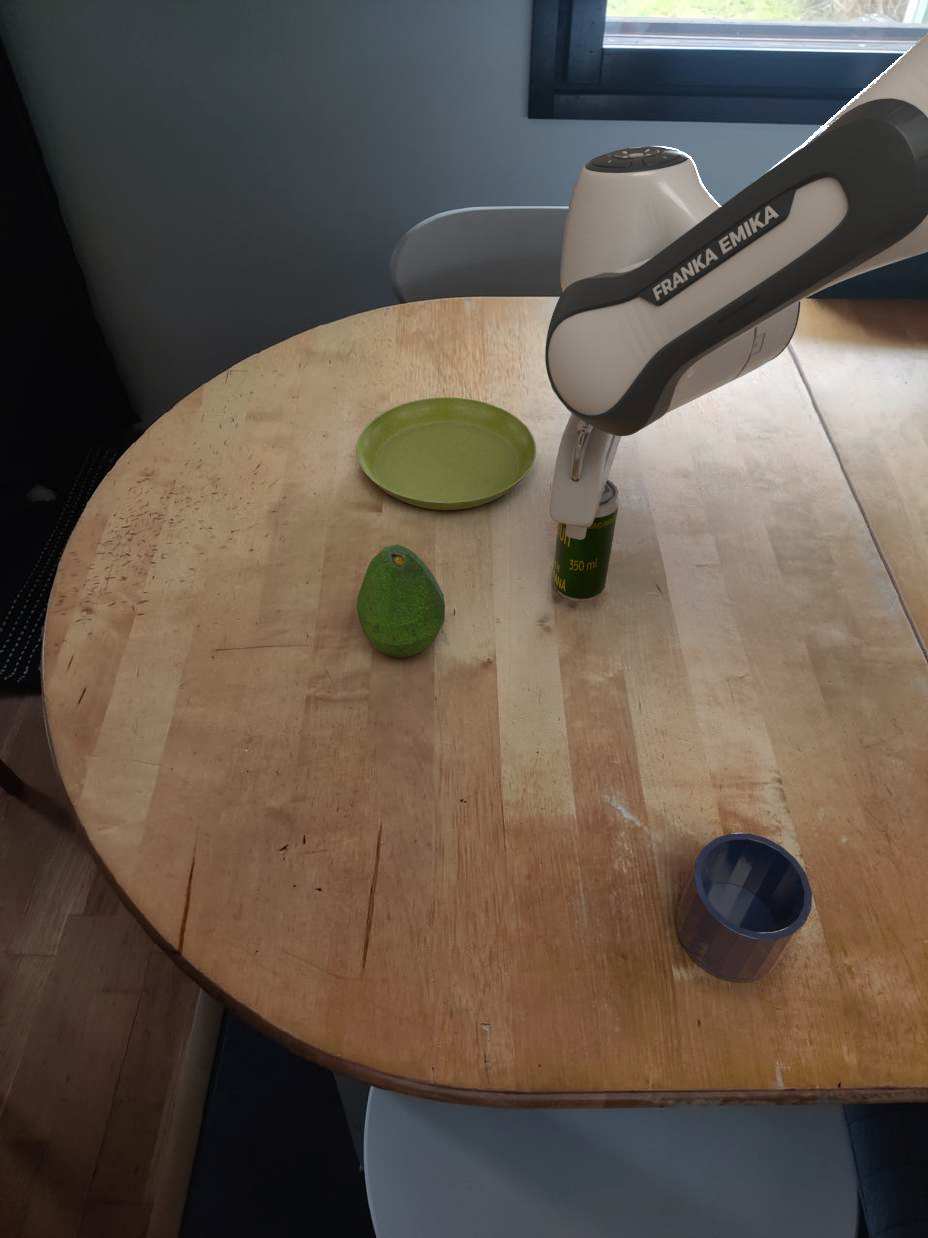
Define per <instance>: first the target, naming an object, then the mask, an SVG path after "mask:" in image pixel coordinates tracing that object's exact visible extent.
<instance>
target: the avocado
mask: <svg viewBox="0 0 928 1238" xmlns="http://www.w3.org/2000/svg"><path fill="white" fill-rule="evenodd" d="M356 611H357V617H358V622H359V625H360V627H361V629H362V632H363V633H364V635H365V636H366V638H367V641H369V643H370V644H371V646H373V647H374V649H376V650H378V651H379V652H381V653H382V654H384V655H386V656H389V657H394V658H398V659H400V658H408V657H412V656H415V655H417V654H420V653H421V652H423V651H425V650H426V649H428V648H429V647H430V646H431V645H432V644H433V643H434V641H436V638H437V637H438V635H439V633H440V631H441V629H442V627H443V625H444V623H445V621H446V620H445V617H446V603H445V595H444V593H443V590H442V589H441V587H440V584H439V582H438V581H437V578H436V577H435V575H434V574H433V572H432V570H431V569H430V568H429V566H427V565H426V563H425V562H424V561H423V560H422V559H421V558H420V557H419V556H418V555H417V553H415V552H413V550H411V549H410V548H408V547H406V546H402V545H400V544H394V545H392V544H391V545H389V546H384V547H383V548H382V549H381V550H380V551H379V552H377V554H375V556H374V557H373V558H372V559H371V561H369V564H368V566H367V569H366V571H365V574H364V577H363V580H362V583H361V586H360V588H359V591H358V595H357V600H356Z"/></svg>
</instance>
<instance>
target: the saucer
mask: <svg viewBox="0 0 928 1238" xmlns="http://www.w3.org/2000/svg"><path fill="white" fill-rule="evenodd" d="M355 452H356V458H357V459H356V460H357V461H358V465H359V466H360V468H361V470H362V471H363V472H364V473H365V475H366V477H368V478H369V479H370V481H371V482H372V483H373V484H375V485H376V486H377V487H378V488H379V489H380V490H382V491H384V492H385V493H387V494H388V495H389V496H391V497H393V498H395V499H397V500H399V501H401V502H403V503H407V504H409V505H412V506H415V507H419V508H423V509H428V510H429V509H430V510H436V511H437V510H438V511H456V510H464V509H465V510H466V509H470V508H476V507H478V506H482V505H485V504H487V503H491V502H492V501H494V500H496V499H499V498H500V497H502V496H504V495H505V494H507V493H509V492H510V491H511V490H512V489H514V488H515V487H516V486H518V484H519V483H520V482H521V481H522V480H523V479H524V478H525V477H526V476H527V475H528V473H530V471H531V469H532V467H533V466H534V463H535V460H536V458H537V445H536V441H535V437H534V435H533V434H532V432H531V430H530V428H529V427H528V426H527V425H526V424H525V423H524V422H523V421H522V420H521V419H519V418H518V417H517V416H516V415H514V414H513V413H511V412H510V411H508V410H506V409H504V408H501V407H499V406H496V405H494V404H490V403H488V402H484V401H482V400H481V401H480V400H476V399H471V398H463V397H450V396H449V397H447V396H446V397H443V396H442V397H441V396H440V397H430V398H421V399H416V400H412V401H407V402H404V403H401V404H398V405H396V406H393V407H391V408H389V409H387V410H385V411H383V412H381V413H380V414H379V415H377V416H376V417H374V418H373V419H371V421H370V422H369V423H367V424H366V425H365V427H364V428H363V429H362V431H361V432H360V434H359V435H358V439H357V442H356V447H355Z"/></svg>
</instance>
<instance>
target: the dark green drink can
mask: <svg viewBox="0 0 928 1238" xmlns="http://www.w3.org/2000/svg"><path fill="white" fill-rule="evenodd" d="M619 505H620V499H619V489H618V487H617V486H616V484H615V483H614V482H613V481H611V480H609V479H607V482H606V485H605V488H604V491H603V494H602V497H601V500H600V504H599V507H598V510H597V513H596V516H595V519H594V521H593V524H592V525H591V526H590V527H588V529H587V533H586V536H585V538H584V539H582V540H579V539H574V538H570V537H568V536H566V534H565V530H566V524H563V523H559V522H557V530H556V540H555V548H554V549H555V550H554V557H553V568H552V578H551V579H552V584H553V587H554V589H555V590H556V592H557V593H558V595H560V596H561V597H562V598H563V599H565V600H568V601H570V602H574V603H575V602H576V603H587V602H589V601H593V600H595V599H596V598H598V597H599V595H600V594H601V593H602V592H603V591H604V589H605V588H606V584H607V577H608V570H609V565H610V559H611V553H612V546H613V542H614V535H615V531H616V530H615V529H616V523H617V517H618V510H619Z"/></svg>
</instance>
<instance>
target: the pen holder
mask: <svg viewBox="0 0 928 1238" xmlns="http://www.w3.org/2000/svg"><path fill="white" fill-rule="evenodd" d="M679 899H680V900H679V902H678V906H677V910H676V913H675V926H676V932H677V937H678V939H679V941H680V943H681V946H682V948H683V950H684V951H685V953H686V954H687V955H688V957H689V958H690V959H691V960H692V961H693V962H694V963H695V964H696V966H698V968H701V969H702V970H703V971H704V972H706V973H708V974H709V975H711V976H713V977H715V978H718V979H720V980H723V981H726V982H731V983H732V982H733V983H749V982H754V981H758V980H760V979H762V978H765V977H766V976H768V975H769V974H770V973H772V971H773V970H775V968H776V967H777V966H778V965H779V964H780V962H781V961H782V959H783V957H784V956H785V955H786V953H787V952H788V950H789V948H790V947H791V945H792V944H793V942H794V941H795V939H796V938H797V936H798V935H799V933H800V931H801V930H802V928H803V927H804V926H805V924H806V923H807V920H808V917H809V916H810V913H811V911H812V908H813V891H812V887H811V885H810V881H809V877H808V875H807V873H806V872H805V870H804V869H803V867H802V866H801V864H800V862H799V861H798V859H797V858H795V856H793V855H792V854H791V853H790V852H789V851H788V850H786V848H785V847H783V846H782V845H780V844H779V843H777V842H775V841H773V840H771V839H769V838H767V837H765V836H761V835H756V834H754V833H749V832H730V833H728V834H727V833H726V834H724V835H720V836H718V837H715V838H713V839H712V840H711V841H709V842H708V843H707V844H706V845H704V846H703V847H702V849H701V850H700V851H699V854H698V856H697V857H696V859H695V862H694V864H693V866H692V869H691V872H690V874H689V876H688V879H687V882H686V884H685V887H684V889H683V891H682V894H681V896H680V898H679Z"/></svg>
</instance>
